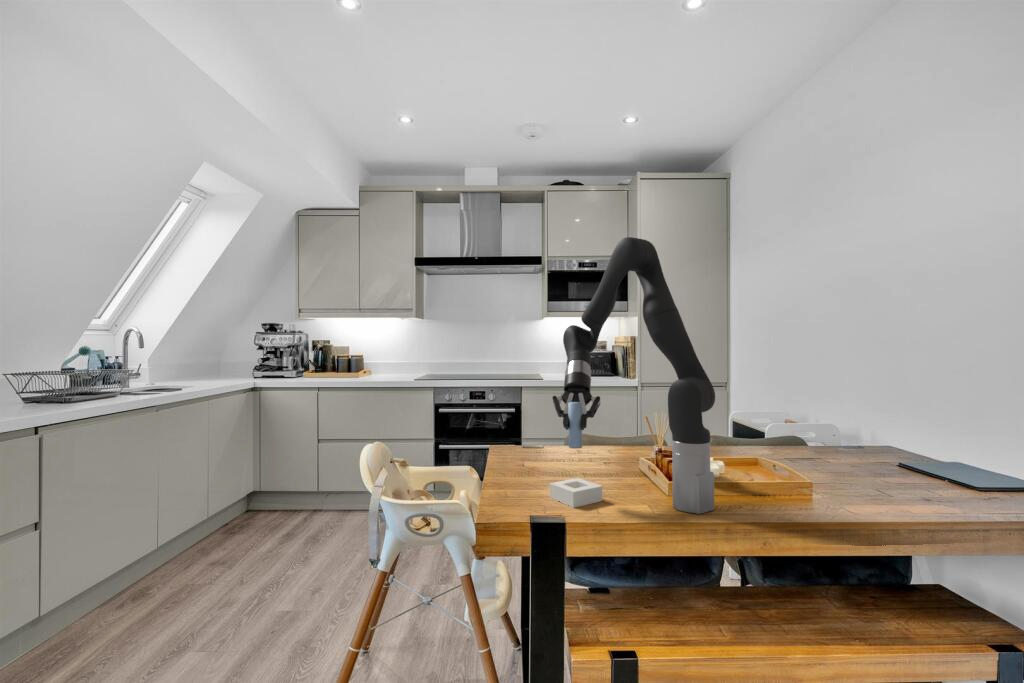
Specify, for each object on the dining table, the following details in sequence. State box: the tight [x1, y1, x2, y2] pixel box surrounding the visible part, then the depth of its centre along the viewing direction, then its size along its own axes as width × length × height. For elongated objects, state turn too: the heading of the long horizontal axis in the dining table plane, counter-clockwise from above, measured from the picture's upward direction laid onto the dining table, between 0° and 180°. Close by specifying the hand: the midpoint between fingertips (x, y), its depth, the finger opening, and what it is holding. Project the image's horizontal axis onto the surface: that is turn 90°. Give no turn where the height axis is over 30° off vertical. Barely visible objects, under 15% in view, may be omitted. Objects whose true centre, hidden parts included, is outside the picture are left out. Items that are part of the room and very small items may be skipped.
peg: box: [568, 402, 583, 449], centre depth 141 cm, size 4×4×12 cm
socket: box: [549, 477, 603, 508], centre depth 141 cm, size 10×10×4 cm
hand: (574, 427), depth 139 cm, fingers closed on peg, 3 cm apart
